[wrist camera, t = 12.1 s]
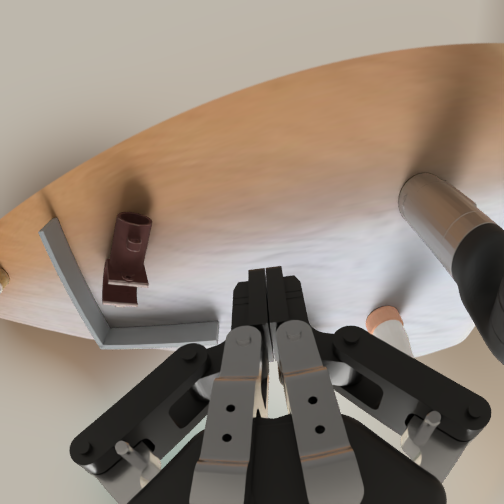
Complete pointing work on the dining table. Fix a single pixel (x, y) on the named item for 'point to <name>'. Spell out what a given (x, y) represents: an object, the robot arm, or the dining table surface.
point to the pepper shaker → (389, 328)
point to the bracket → (126, 260)
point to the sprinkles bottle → (3, 279)
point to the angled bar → (95, 320)
